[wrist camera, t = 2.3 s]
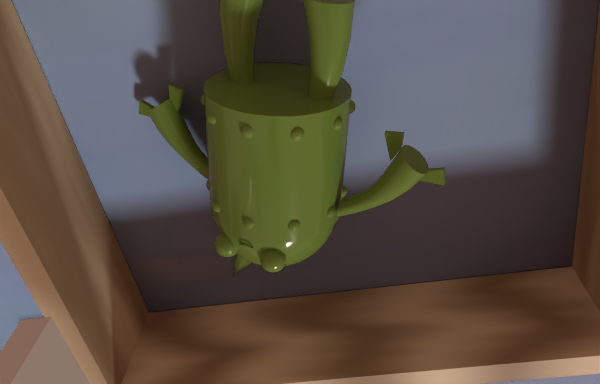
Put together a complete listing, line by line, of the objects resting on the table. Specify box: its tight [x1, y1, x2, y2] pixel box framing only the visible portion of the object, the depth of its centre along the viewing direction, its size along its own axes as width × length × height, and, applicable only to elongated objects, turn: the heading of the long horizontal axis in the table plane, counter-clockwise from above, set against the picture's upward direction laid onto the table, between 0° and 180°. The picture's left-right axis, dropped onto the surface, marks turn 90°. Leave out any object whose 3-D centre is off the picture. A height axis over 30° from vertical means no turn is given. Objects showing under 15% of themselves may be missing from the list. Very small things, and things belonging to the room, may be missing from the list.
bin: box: [0, 0, 600, 384], centre depth 19 cm, size 22×18×5 cm
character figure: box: [139, 0, 445, 276], centre depth 19 cm, size 12×5×12 cm
